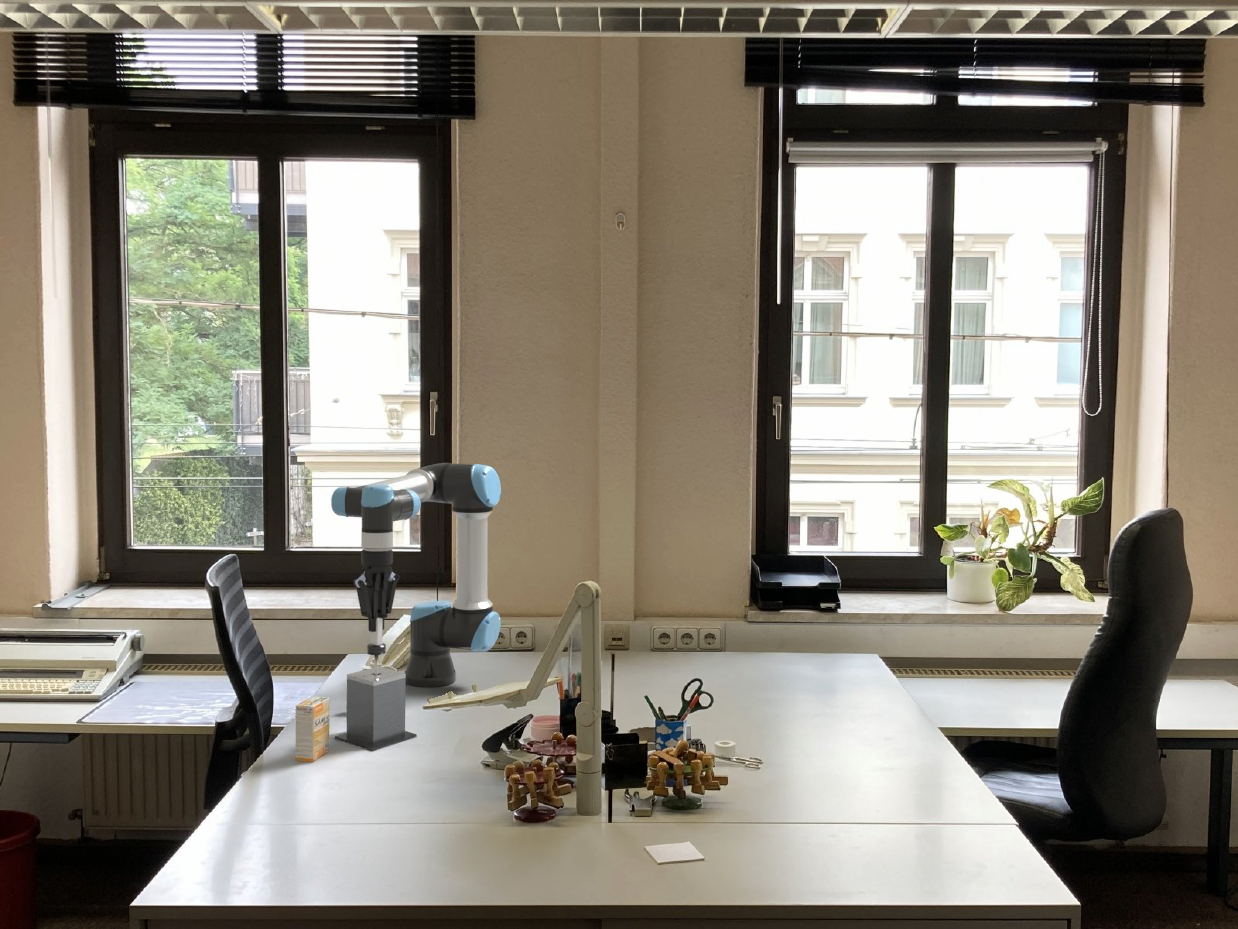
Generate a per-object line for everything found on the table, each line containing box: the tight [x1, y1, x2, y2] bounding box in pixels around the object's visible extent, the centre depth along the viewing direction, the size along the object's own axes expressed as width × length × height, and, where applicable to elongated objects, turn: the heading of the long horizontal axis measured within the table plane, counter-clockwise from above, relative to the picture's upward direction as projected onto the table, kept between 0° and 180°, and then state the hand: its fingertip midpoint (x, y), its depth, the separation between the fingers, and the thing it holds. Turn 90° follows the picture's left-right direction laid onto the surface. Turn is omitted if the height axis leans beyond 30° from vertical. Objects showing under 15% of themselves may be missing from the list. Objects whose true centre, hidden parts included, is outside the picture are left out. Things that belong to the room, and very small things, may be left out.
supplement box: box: [294, 696, 331, 763], centre depth 251 cm, size 8×5×13 cm, turn 168°
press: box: [334, 666, 417, 752], centre depth 265 cm, size 14×15×16 cm
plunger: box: [366, 642, 387, 675], centre depth 264 cm, size 7×7×15 cm
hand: (376, 644), depth 263 cm, fingers closed
